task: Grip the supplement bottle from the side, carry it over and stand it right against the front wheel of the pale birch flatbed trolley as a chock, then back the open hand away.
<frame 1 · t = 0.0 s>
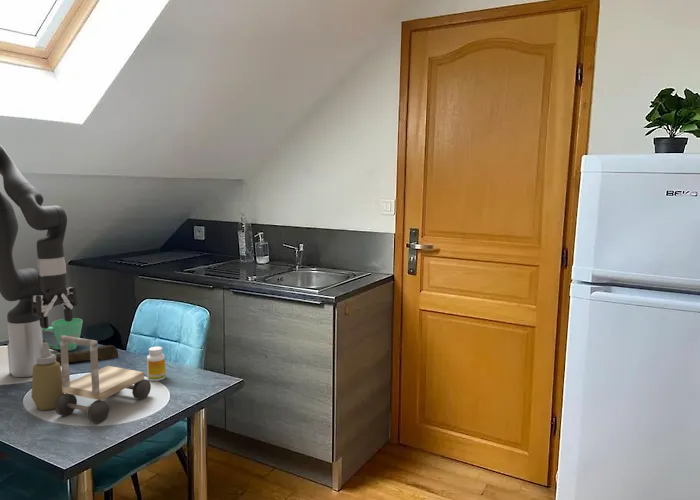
hand: (57, 324, 171), 17 cm above the table, tool pointing down, fingers open, 8 cm apart
squeeze bottle: (49, 407, 154), on the table
mug: (61, 350, 199), on the table
hand tool: (87, 361, 190), on the table
supplement bottle: (156, 378, 175), on the table
trolley: (105, 406, 155), on the table
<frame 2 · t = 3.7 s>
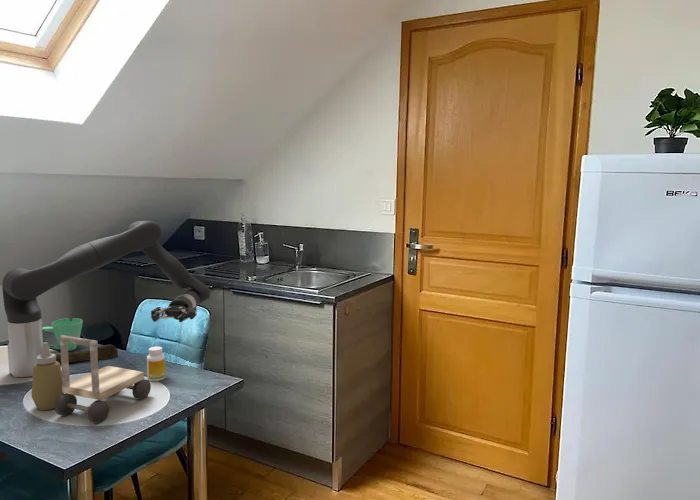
hand: (167, 319, 184), 16 cm above the table, tool horizontal, fingers open, 8 cm apart
nothing on the table moved.
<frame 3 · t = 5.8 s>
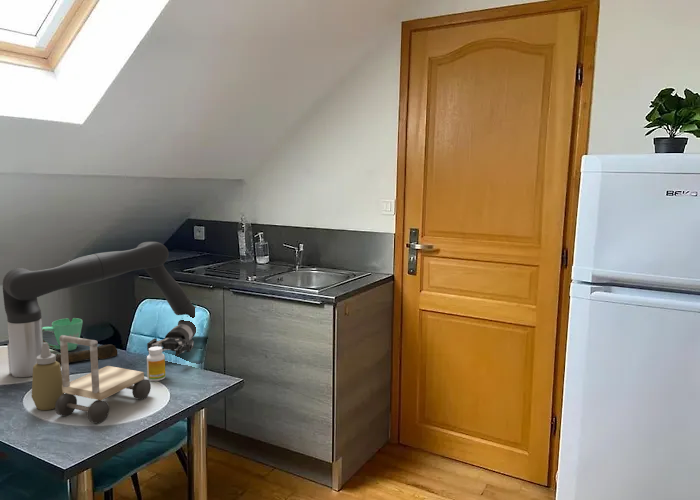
hand: (163, 352, 181), 6 cm above the table, tool horizontal, fingers open, 8 cm apart
nothing on the table moved.
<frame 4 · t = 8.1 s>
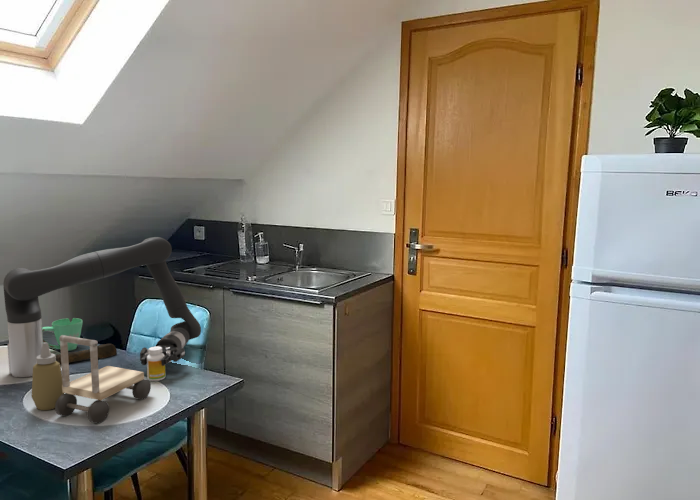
hand: (153, 362, 172), 6 cm above the table, tool horizontal, fingers closed on supplement bottle, 5 cm apart
supplement bottle: (156, 378, 175), on the table, touching gripper
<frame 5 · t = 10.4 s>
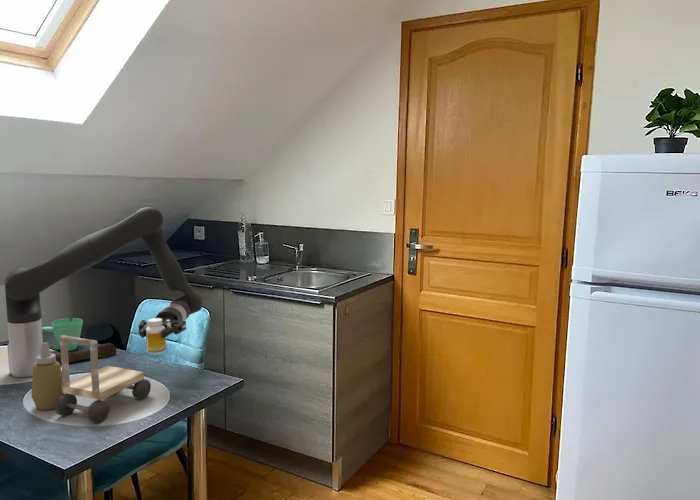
hand: (152, 334, 161), 18 cm above the table, tool horizontal, fingers closed on supplement bottle, 5 cm apart
supplement bottle: (156, 352, 165), point 11 cm above the table, touching gripper
when the fingers open (7 cm above the table, at t = 13.0 s): supplement bottle stays where it is, on the table.
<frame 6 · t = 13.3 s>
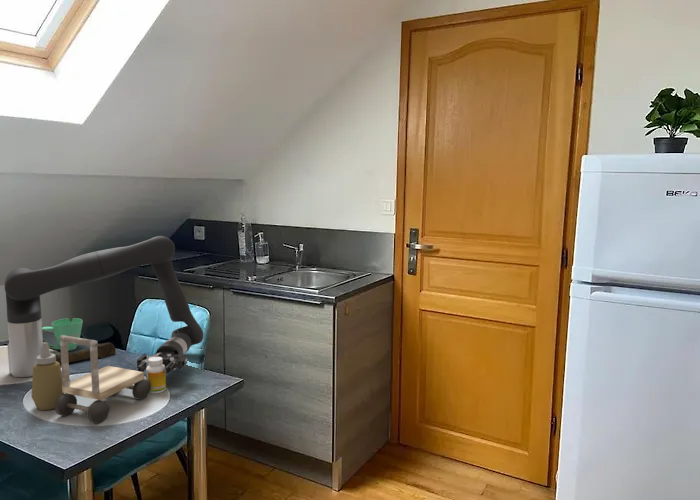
hand: (153, 370, 163), 7 cm above the table, tool horizontal, fingers open, 7 cm apart
supplement bottle: (156, 390, 166), on the table
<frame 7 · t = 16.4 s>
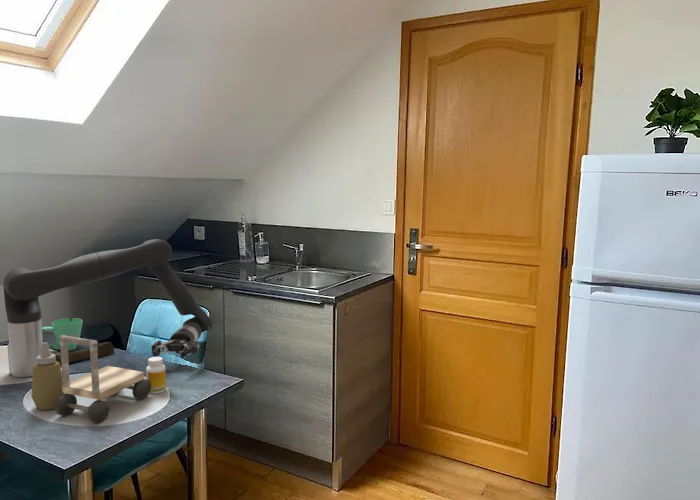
hand: (168, 354, 176), 7 cm above the table, tool horizontal, fingers open, 8 cm apart
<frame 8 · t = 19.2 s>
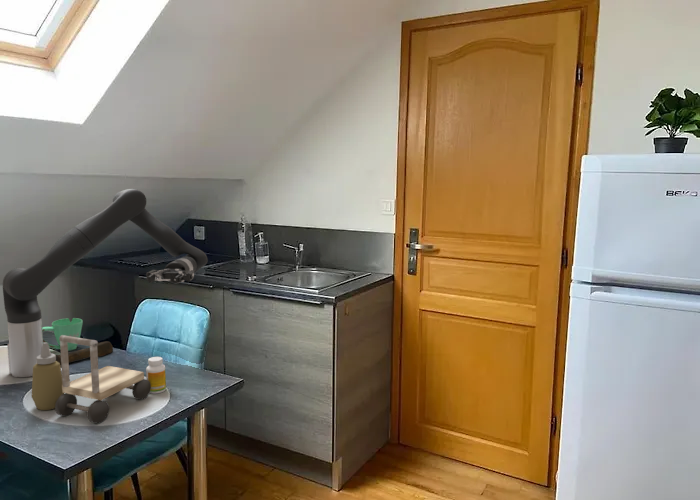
hand: (163, 279, 177), 30 cm above the table, tool horizontal, fingers open, 8 cm apart
at the end: supplement bottle 0.6 cm from the target spot on the table beside the trolley, on the table; supplement bottle tilted 0°; the gripper is holding nothing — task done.
